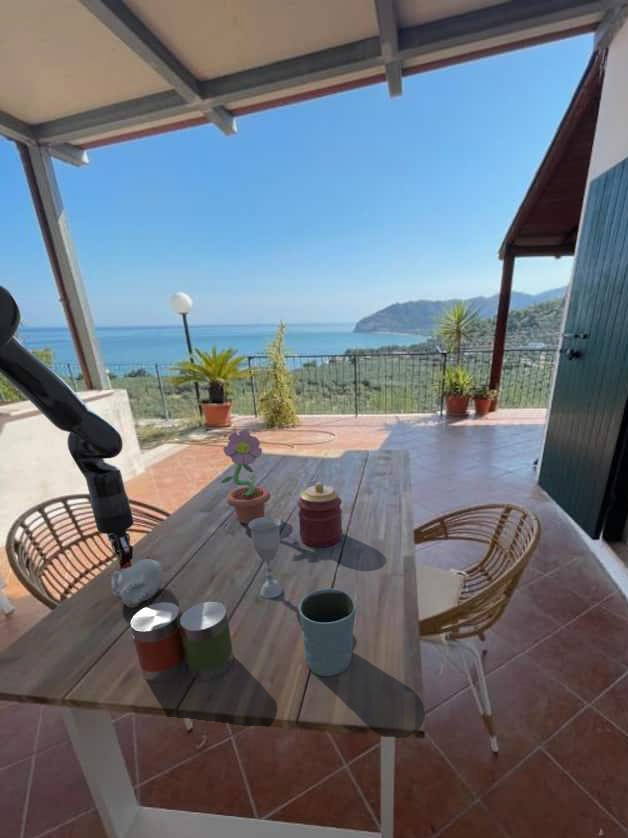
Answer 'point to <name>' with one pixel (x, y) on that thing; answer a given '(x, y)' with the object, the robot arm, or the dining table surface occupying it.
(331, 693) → the dining table surface
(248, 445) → the decorative flower
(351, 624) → the light blue cup
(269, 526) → the chalice
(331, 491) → the kitchen canister
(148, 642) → the tin cans
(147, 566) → the grey rounded lumpy piece
